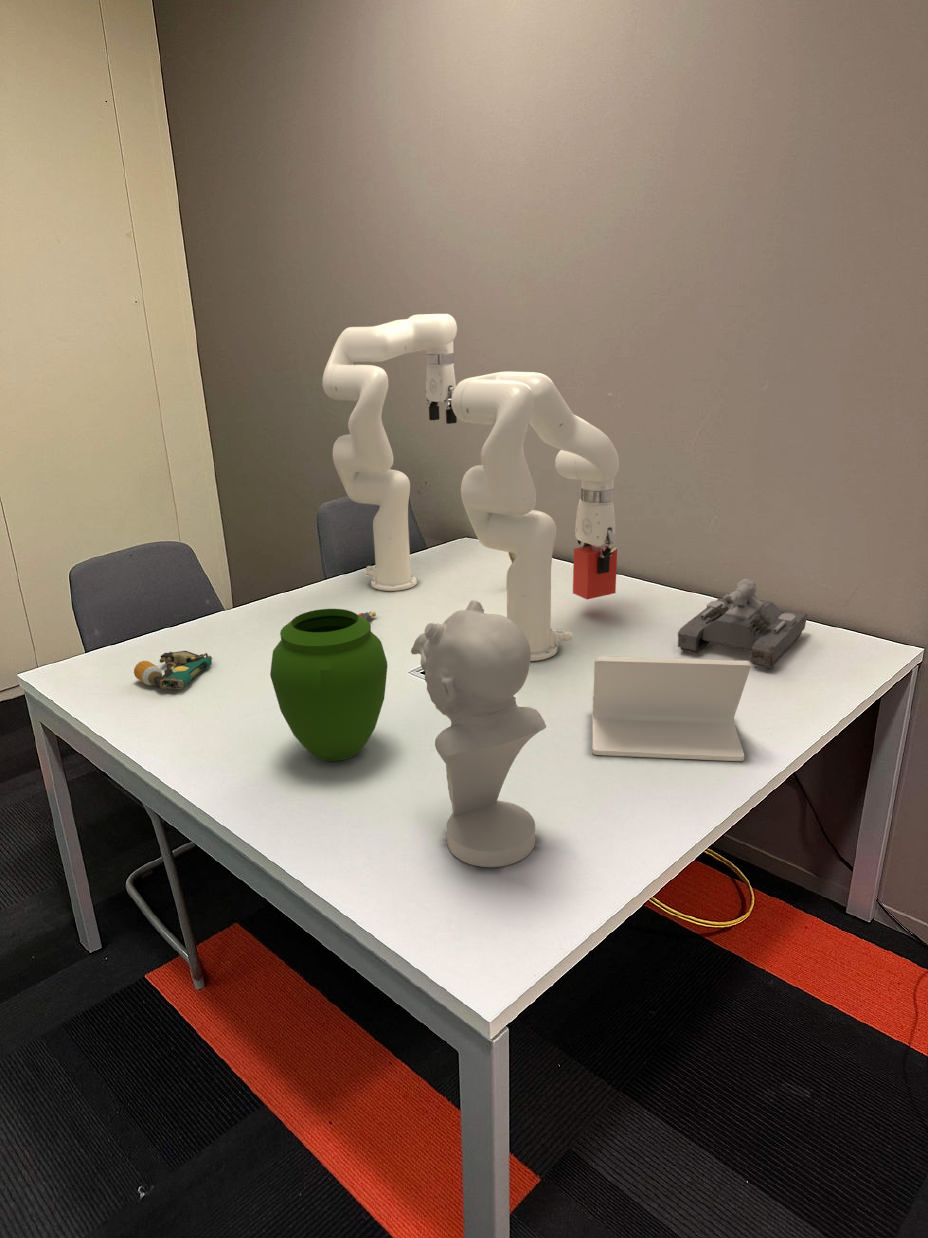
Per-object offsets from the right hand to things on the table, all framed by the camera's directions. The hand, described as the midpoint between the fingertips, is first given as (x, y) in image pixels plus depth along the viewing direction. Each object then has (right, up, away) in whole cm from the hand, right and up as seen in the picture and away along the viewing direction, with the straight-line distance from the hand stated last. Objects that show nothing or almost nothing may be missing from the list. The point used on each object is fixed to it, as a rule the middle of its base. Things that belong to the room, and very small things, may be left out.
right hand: (594, 568), depth 206 cm
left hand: (-38, +45, +42) cm, 72 cm away
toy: (+30, -18, -18) cm, 39 cm away
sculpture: (-17, -2, +26) cm, 31 cm away
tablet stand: (+4, -32, -55) cm, 64 cm away
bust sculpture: (-31, -43, -81) cm, 97 cm away
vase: (-54, -35, -58) cm, 86 cm away
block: (0, -6, +2) cm, 6 cm away
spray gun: (-92, -24, -26) cm, 99 cm away
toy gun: (-60, -15, -3) cm, 62 cm away
